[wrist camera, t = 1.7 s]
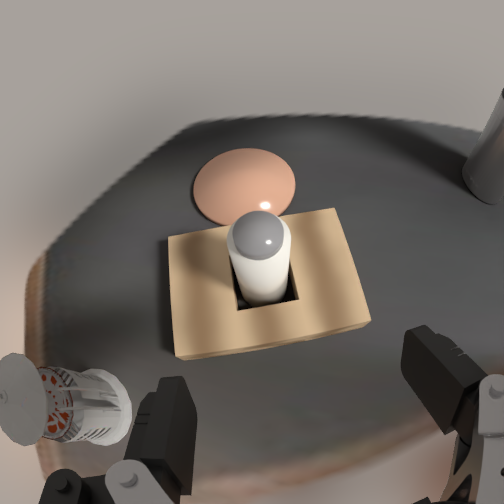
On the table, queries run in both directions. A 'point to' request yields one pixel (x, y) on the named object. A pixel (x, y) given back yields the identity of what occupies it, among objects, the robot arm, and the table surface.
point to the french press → (61, 403)
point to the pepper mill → (260, 257)
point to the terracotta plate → (243, 185)
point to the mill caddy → (272, 316)
